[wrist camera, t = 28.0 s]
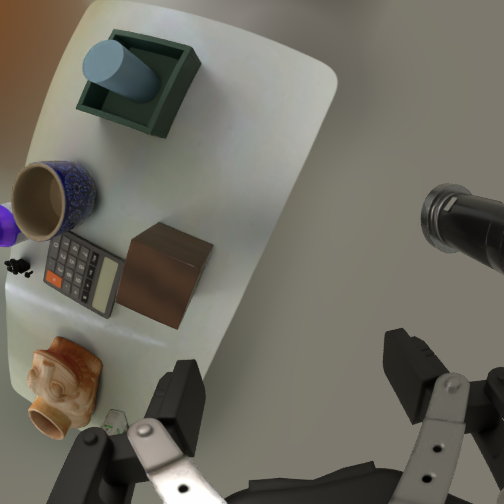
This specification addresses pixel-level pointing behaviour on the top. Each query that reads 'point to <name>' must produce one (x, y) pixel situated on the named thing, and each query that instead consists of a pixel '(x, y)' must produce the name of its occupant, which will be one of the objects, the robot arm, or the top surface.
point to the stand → (162, 273)
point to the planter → (51, 198)
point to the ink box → (115, 423)
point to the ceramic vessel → (63, 387)
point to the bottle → (9, 227)
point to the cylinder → (120, 72)
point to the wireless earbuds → (18, 267)
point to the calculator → (83, 272)
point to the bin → (171, 91)
